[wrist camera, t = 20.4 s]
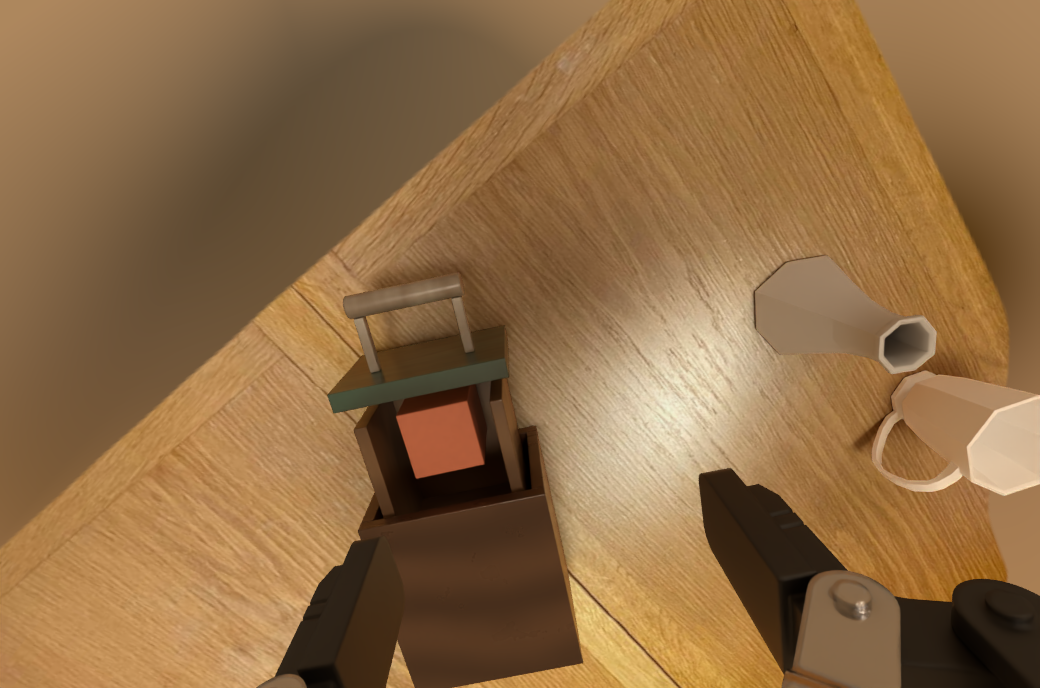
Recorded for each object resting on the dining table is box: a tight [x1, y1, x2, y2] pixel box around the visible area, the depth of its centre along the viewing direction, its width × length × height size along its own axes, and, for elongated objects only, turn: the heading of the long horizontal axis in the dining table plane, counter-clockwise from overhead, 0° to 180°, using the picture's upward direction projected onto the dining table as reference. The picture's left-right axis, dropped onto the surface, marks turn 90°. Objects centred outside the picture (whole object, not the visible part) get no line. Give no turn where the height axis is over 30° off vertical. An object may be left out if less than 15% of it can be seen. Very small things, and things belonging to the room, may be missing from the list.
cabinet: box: [358, 426, 583, 688], centre depth 36 cm, size 14×12×9 cm
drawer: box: [327, 272, 531, 518], centre depth 32 cm, size 17×10×7 cm, turn 12°
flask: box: [755, 255, 937, 374], centre depth 31 cm, size 7×7×10 cm
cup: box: [872, 370, 1040, 496], centre depth 35 cm, size 7×10×8 cm
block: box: [396, 384, 487, 479], centre depth 33 cm, size 4×4×5 cm
